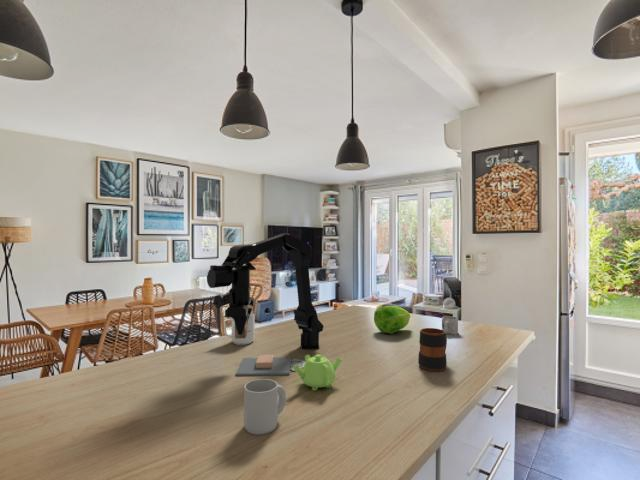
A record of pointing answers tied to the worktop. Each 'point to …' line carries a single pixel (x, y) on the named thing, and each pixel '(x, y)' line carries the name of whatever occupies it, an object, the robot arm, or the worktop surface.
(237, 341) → the mug
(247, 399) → the cup
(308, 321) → the robot arm
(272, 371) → the mat
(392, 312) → the lettuce
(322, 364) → the teapot
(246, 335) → the walnut block
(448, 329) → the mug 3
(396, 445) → the worktop surface
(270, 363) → the tile
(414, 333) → the worktop surface
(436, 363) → the mug
